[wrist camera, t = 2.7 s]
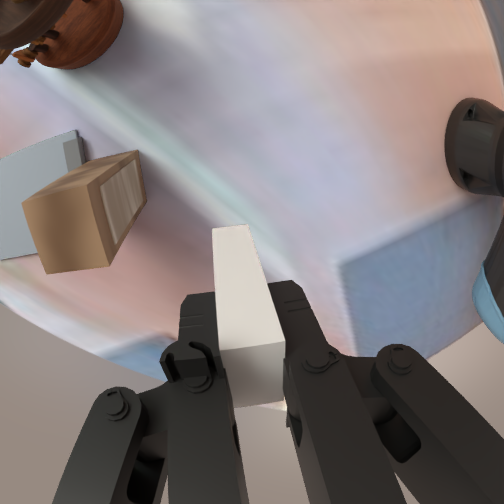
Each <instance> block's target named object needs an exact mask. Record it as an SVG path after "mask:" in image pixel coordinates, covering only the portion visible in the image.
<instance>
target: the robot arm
mask: <svg viewBox="0 0 504 504" xmlns="http://www.w3.org/2000/svg"><path fill="white" fill-rule="evenodd" d="M445 156H446V162H447V166H448V169H449V172H450V174H451V176H452V178H453V180H454V181H455V182H456V184H457V185H459V186H460V187H461V188H463V189H465V190H467V191H469V192H471V193H474V194H483V195H494V196H502V197H504V111H502V110H501V109H499V108H498V107H496V106H494V105H493V104H491V103H490V102H488V101H486V100H483V99H477V98H466V99H464V100H462V101H461V102H459V103H458V104H457V105H456V107H455V108H454V110H453V111H452V113H451V115H450V118H449V121H448V124H447V128H446V134H445ZM212 241H213V262H214V280H215V292H207V293H199V294H190V295H187V297H186V298H185V300H184V301H183V303H182V304H181V309H180V322H179V336H178V341H176V342H174V343H172V344H171V345H169V346H168V347H167V348H166V349H165V350H164V352H163V353H162V355H161V358H160V361H159V362H160V364H161V366H162V369H163V371H164V373H165V375H166V377H167V379H168V381H167V382H165V383H164V384H163V385H161V386H159V387H157V388H154V389H151V390H148V391H145V392H142V393H139V394H136V393H135V392H134V391H133V390H131V389H128V388H126V387H113V388H110V389H107V390H105V391H104V392H103V393H101V394H100V395H99V396H98V398H97V399H96V400H95V402H94V404H93V406H92V408H91V410H90V412H89V414H88V417H87V419H86V421H85V423H84V425H83V427H82V430H81V432H80V434H79V436H78V439H77V441H76V443H75V446H74V448H73V450H72V453H71V455H70V458H69V460H68V463H67V465H66V468H65V470H64V473H63V475H62V478H61V480H60V483H59V486H58V489H57V491H56V494H55V497H54V500H53V503H52V504H160V502H161V498H162V494H163V490H164V486H165V482H166V479H167V475H168V496H169V504H249V499H248V494H247V488H246V482H245V476H244V470H243V463H242V457H241V451H240V444H239V437H238V430H237V424H236V420H235V415H234V408H238V407H246V406H253V405H260V404H266V403H272V402H277V401H283V400H284V396H285V400H286V404H287V419H286V427H290V430H291V434H292V437H293V441H294V445H295V449H296V453H297V457H298V461H299V464H300V468H301V472H302V476H303V479H304V483H305V487H306V491H307V495H308V498H309V502H310V504H407V503H406V501H405V498H404V495H403V493H402V490H401V488H400V485H399V483H398V480H397V478H396V476H395V473H396V474H397V476H398V477H399V478H400V480H401V481H402V482H403V483H404V485H405V486H406V487H407V488H408V490H409V491H410V492H411V493H412V495H413V496H414V497H415V498H416V500H417V501H418V502H419V503H420V504H504V439H503V438H502V437H501V436H500V435H499V434H498V433H497V432H496V430H495V429H494V428H493V427H492V426H491V425H490V424H489V423H488V422H487V421H486V420H485V419H484V418H483V417H482V416H481V415H480V414H479V413H478V411H477V410H475V408H474V407H473V406H472V405H471V404H470V403H469V402H468V401H467V400H466V399H465V398H464V397H463V396H462V395H461V394H460V393H459V392H458V391H457V390H456V389H455V388H454V387H453V386H452V385H451V384H450V383H448V381H447V380H446V379H445V378H444V377H443V376H442V375H441V374H440V373H439V372H437V370H436V369H435V368H434V367H433V366H432V365H430V364H429V363H428V362H427V361H426V360H425V359H424V358H423V357H422V356H421V355H420V354H419V353H418V352H417V351H415V350H414V349H413V348H411V347H409V346H406V345H403V344H391V345H388V346H385V347H383V348H382V349H381V350H380V351H379V352H378V354H377V357H352V356H347V355H344V354H341V353H340V352H339V351H338V350H337V349H336V348H334V347H332V346H331V345H329V344H328V342H327V341H326V338H325V336H324V334H323V332H322V330H321V328H320V325H319V323H318V321H317V319H316V317H315V315H314V313H313V310H312V309H311V306H310V304H309V302H308V300H307V298H306V296H305V293H304V291H303V289H302V288H301V287H300V286H299V285H298V284H296V283H295V282H294V281H292V280H288V281H281V282H274V283H267V282H266V279H265V276H264V273H263V270H262V266H261V263H260V260H259V257H258V254H257V251H256V248H255V245H254V242H253V239H252V235H251V232H250V229H249V226H248V224H245V225H237V226H229V227H221V228H213V229H212ZM472 298H473V302H474V305H475V307H476V310H477V312H478V314H479V316H480V317H481V319H482V321H483V322H484V323H485V325H486V326H487V328H488V329H489V330H490V331H491V332H492V333H493V335H494V336H495V337H496V338H497V339H498V340H499V341H501V342H502V343H503V344H504V216H503V219H502V222H501V224H500V227H499V230H498V232H497V235H496V237H495V240H494V242H493V244H492V246H491V249H490V251H489V253H488V255H487V257H486V259H485V260H484V261H483V262H482V264H481V270H480V272H479V274H478V276H477V278H476V281H475V283H474V285H473V289H472ZM394 472H395V473H394Z"/></svg>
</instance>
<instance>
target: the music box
mask: <svg viewBox="0 0 504 504" xmlns="http://www.w3.org/2000/svg"><path fill="white" fill-rule="evenodd" d="M122 22H123V7H122V4H121V2H120V0H0V64H2V63H3V62H4V61H5V60H6V58H7V57H8V56H9V55H12V56H13V57H16V58H18V59H19V60H18V63H19V64H20V65H22V66H24V67H27V68H29V67H30V66H31V63H30V62H34V60H35V58H36V60H37V61H38V62H39V63H41V64H42V65H44V66H47V67H53V68H60V69H76V68H80V67H83V66H85V65H87V64H89V63H91V62H93V61H94V60H96V59H97V58H98V57H100V56H101V55H102V54H103V53H104V52H105V51H106V50H107V49H108V48H109V47H110V46H111V44H112V43H113V42H114V40H115V39H116V37H117V35H118V33H119V31H120V29H121V26H122ZM29 43H31V44H30V46H29V47H27V48H26V49H23V50H19V51H16V52H14V53H13V54H11V52H12V51H13V49H15V48H19V47H22V46H24V45H26V44H29Z"/></svg>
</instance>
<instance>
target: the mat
mask: <svg viewBox="0 0 504 504" xmlns="http://www.w3.org/2000/svg"><path fill="white" fill-rule="evenodd" d="M85 163H86V160H85V155H84V149H83V143H82V137H79V138H78V136H77V130H73V131H70V132H67V133H64V134H61V135H58V136H55V137H53V138H50V139H47V140H44V141H42V142H39V143H37V144H34V145H31V146H29V147H27V148H24V149H22V150H19V151H17V152H15V153H12V154H10V155H8V156H6V157H4V158H1V159H0V260H2V259H8V258H13V257H18V256H24V255H29V254H34V253H38V252H37V249H36V247H35V244H34V241H33V238H32V236H31V233H30V230H29V227H28V224H27V221H26V218H25V214H24V211H23V208H22V204H21V203H22V202H23V201H24V200H26V199H27V198H29V197H30V196H32V195H33V194H35V193H36V192H38V191H39V190H41V189H42V188H44V187H46V186H47V185H49V184H50V183H52V182H54V181H55V180H57V179H59V178H60V177H62V176H64V175H65V174H67V173H69V172H70V171H72V170H74V169H76V168H77V167H79V166H81V165H83V164H85Z"/></svg>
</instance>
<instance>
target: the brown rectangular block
mask: <svg viewBox="0 0 504 504" xmlns="http://www.w3.org/2000/svg"><path fill="white" fill-rule="evenodd" d="M146 202H147V199H146V194H145V189H144V184H143V178H142V173H141V167H140V161H139V155H138V150H134V151H129V152H125V153H120V154H116V155H111V156H107V157H103V158H99V159H95V160H91V161H88V162H86V163H85V164H83V165H81V166H79V167H77V168H76V169H74V170H72V171H70V172H69V173H67V174H65V175H64V176H62V177H60V178H59V179H57V180H55V181H54V182H52V183H50V184H49V185H47V186H46V187H44V188H42V189H41V190H39V191H38V192H36V193H35V194H33V195H32V196H30V197H29V198H27V199H26V200H24V201H23V202H22V203H21V204H22V208H23V211H24V214H25V218H26V221H27V224H28V227H29V230H30V233H31V236H32V238H33V241H34V244H35V247H36V249H37V252H38V255H39V257H40V260H41V262H42V265H43V267H44V269H45V272H46V274H54V273H62V272H69V271H77V270H85V269H93V268H101V267H109V266H110V265H111V263H112V261H113V259H114V257H115V255H116V253H117V252H118V250H119V248H120V246H121V244H122V242H123V241H124V239H125V237H126V235H127V234H128V232H129V230H130V228H131V227H132V225H133V223H134V222H135V220H136V218H137V217H138V215H139V213H140V212H141V210H142V208H143V207H144V205H145V203H146Z"/></svg>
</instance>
